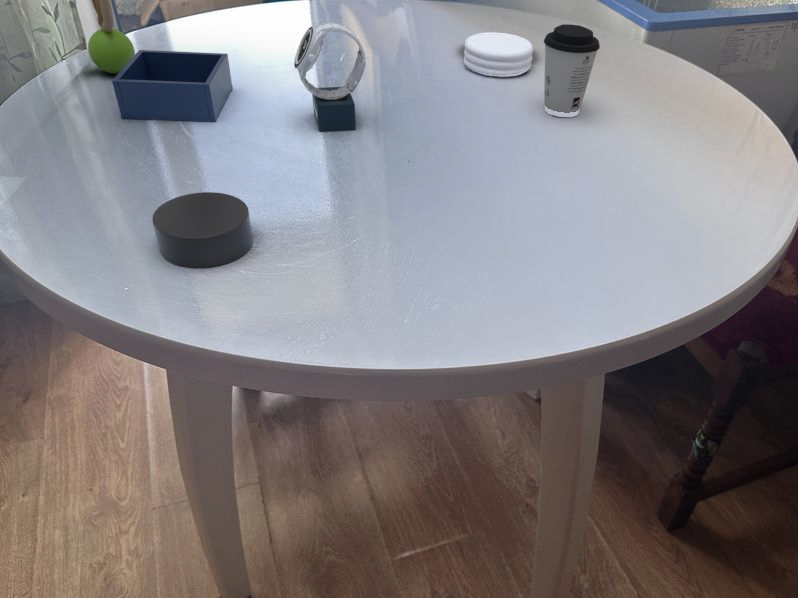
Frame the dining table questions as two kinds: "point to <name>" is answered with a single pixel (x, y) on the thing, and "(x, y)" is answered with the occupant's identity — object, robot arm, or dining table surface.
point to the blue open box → (173, 86)
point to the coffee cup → (568, 66)
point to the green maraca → (109, 41)
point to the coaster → (497, 53)
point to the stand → (203, 229)
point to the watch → (329, 102)
